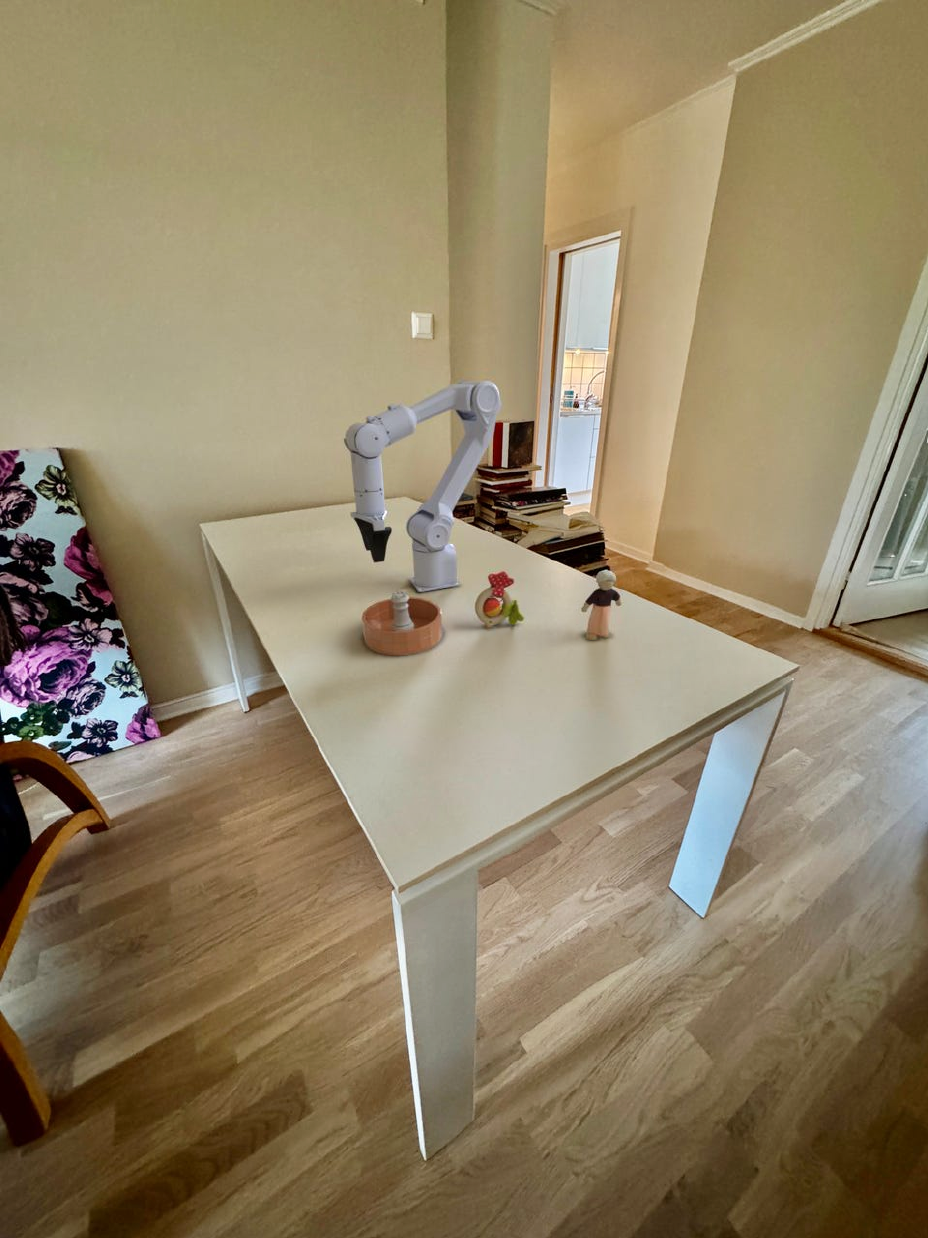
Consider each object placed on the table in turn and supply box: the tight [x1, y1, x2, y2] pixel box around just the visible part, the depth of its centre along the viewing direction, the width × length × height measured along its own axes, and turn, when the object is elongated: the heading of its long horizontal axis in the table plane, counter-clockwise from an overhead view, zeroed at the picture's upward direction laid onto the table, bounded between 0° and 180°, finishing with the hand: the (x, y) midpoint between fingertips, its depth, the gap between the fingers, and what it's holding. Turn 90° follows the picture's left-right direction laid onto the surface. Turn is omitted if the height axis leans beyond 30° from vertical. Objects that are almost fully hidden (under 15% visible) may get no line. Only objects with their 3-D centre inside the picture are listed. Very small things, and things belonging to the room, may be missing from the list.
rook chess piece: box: [390, 590, 414, 631], centre depth 87 cm, size 4×4×8 cm
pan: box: [361, 596, 443, 656], centre depth 88 cm, size 14×14×4 cm
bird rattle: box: [474, 570, 525, 629], centre depth 89 cm, size 6×11×9 cm
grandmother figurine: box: [580, 569, 622, 641], centre depth 85 cm, size 8×4×13 cm, turn 117°
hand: (374, 555), depth 100 cm, fingers open, 7 cm apart
